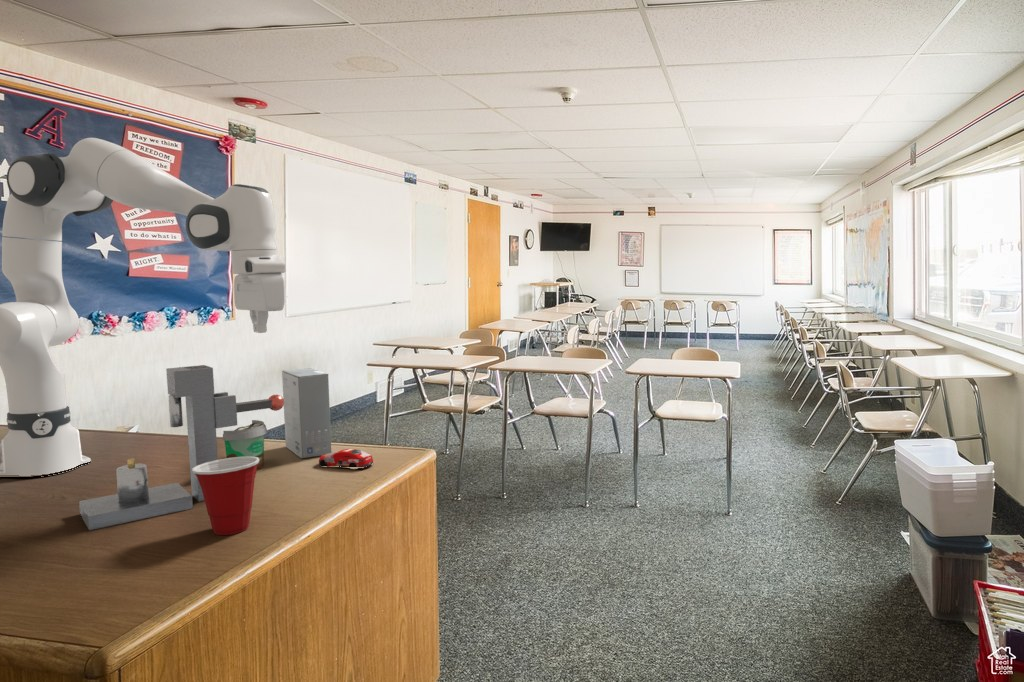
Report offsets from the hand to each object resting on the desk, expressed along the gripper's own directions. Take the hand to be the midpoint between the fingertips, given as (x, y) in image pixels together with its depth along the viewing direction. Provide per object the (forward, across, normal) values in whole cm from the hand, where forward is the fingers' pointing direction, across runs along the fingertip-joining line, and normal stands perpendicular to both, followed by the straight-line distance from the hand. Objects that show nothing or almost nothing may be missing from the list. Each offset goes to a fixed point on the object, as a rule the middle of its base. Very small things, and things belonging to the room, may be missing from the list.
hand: (260, 332), depth 144 cm
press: (+32, 0, -20) cm, 38 cm away
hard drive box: (+32, -22, +17) cm, 42 cm away
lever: (+17, 0, -3) cm, 17 cm away
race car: (+33, -2, +18) cm, 37 cm away
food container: (+32, -15, +1) cm, 35 cm away
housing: (+29, 0, -26) cm, 39 cm away
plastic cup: (+32, +21, -15) cm, 41 cm away
